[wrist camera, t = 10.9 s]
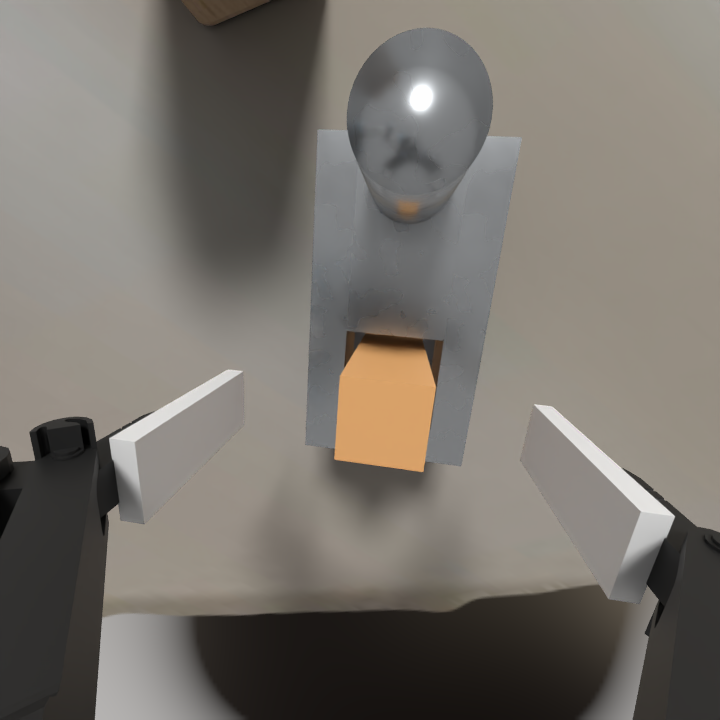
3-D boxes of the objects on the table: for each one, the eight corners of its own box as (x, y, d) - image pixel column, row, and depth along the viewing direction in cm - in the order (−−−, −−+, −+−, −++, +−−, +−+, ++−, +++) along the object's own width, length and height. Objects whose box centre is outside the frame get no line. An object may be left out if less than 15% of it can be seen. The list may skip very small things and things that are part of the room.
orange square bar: (366, 370, 28) (334, 459, 15) (370, 324, 27) (339, 375, 14) (413, 375, 28) (423, 472, 15) (419, 329, 27) (436, 386, 13)
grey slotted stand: (333, 395, 30) (261, 522, 15) (346, 174, 25) (260, 26, 10) (444, 408, 29) (489, 560, 14) (480, 181, 24) (611, 29, 9)
